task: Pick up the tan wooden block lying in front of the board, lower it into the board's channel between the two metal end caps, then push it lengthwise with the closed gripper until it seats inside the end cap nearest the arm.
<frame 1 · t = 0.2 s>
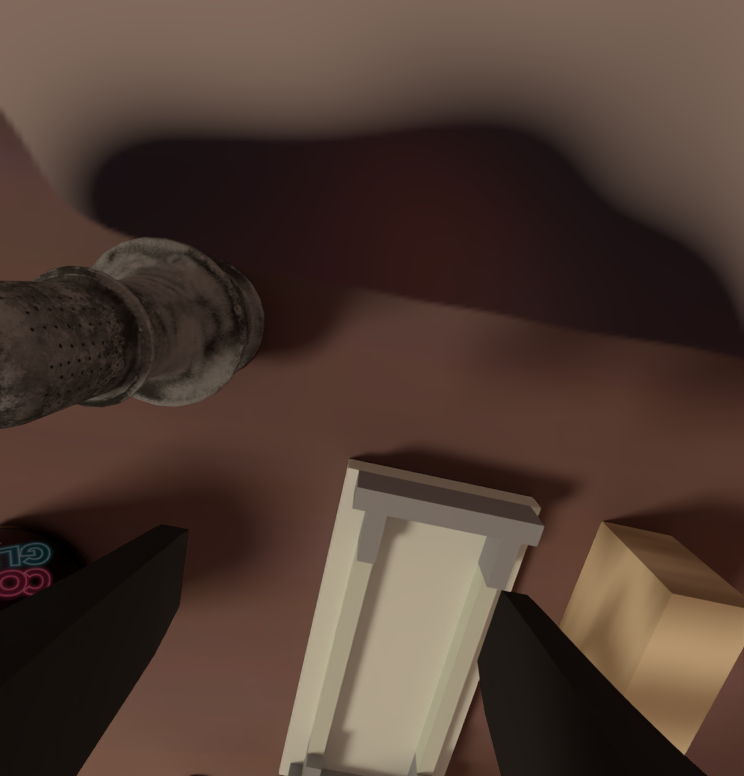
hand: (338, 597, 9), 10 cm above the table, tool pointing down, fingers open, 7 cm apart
tan wooden block: (595, 617, 21), on the table
supplement container: (37, 573, 21), on the table
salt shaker: (206, 318, 18), on the table
cream rectangular tray: (395, 638, 21), on the table
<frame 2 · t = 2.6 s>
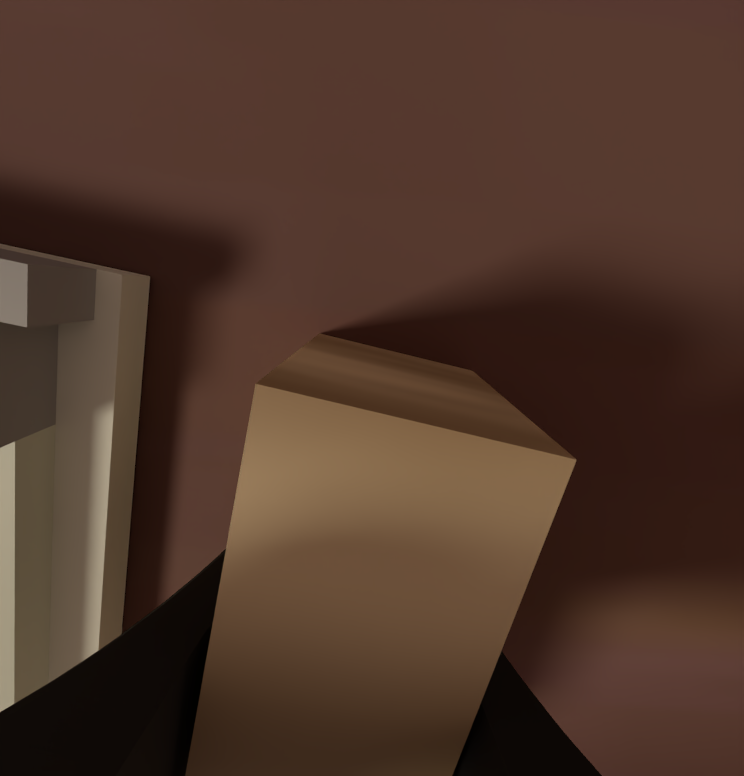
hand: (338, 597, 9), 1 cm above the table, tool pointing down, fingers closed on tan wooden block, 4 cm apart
tan wooden block: (343, 555, 11), on the table, touching gripper
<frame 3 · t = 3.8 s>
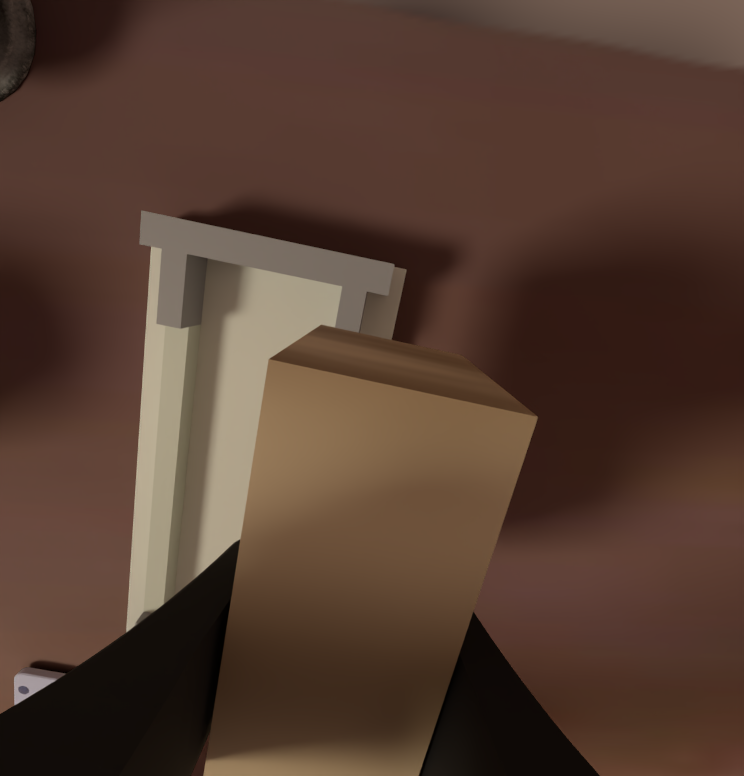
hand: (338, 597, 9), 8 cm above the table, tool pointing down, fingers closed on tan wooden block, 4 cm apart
tan wooden block: (348, 529, 11), point 6 cm above the table, touching gripper
cream rectangular tray: (254, 473, 17), on the table
when the fingers open (4 cm above the table, at t = 5.3 s): tan wooden block stays where it is, resting on cream rectangular tray.
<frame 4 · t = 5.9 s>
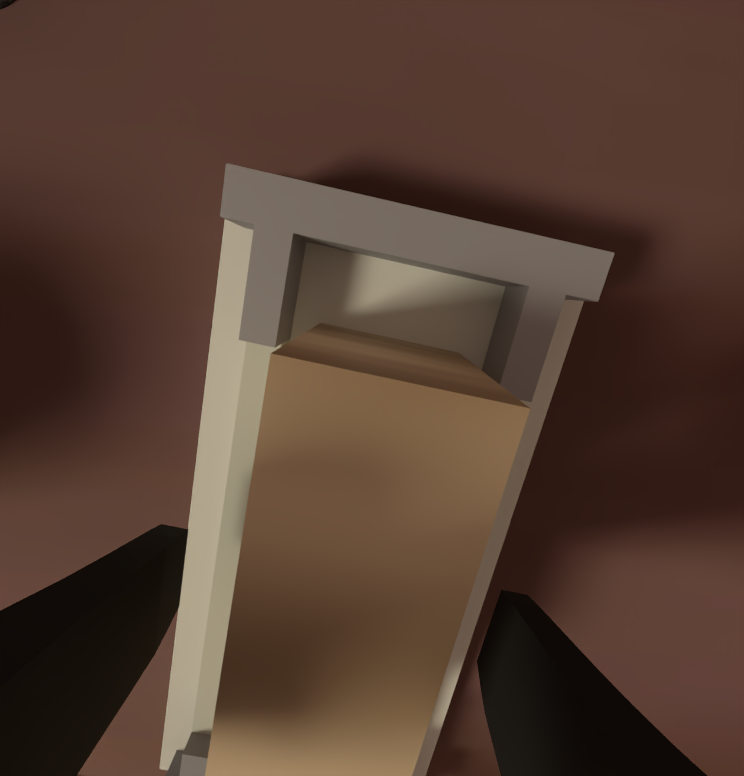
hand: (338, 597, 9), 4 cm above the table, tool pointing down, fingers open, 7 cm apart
tan wooden block: (347, 525, 12), point 1 cm above the table, touching cream rectangular tray
cream rectangular tray: (343, 539, 13), on the table
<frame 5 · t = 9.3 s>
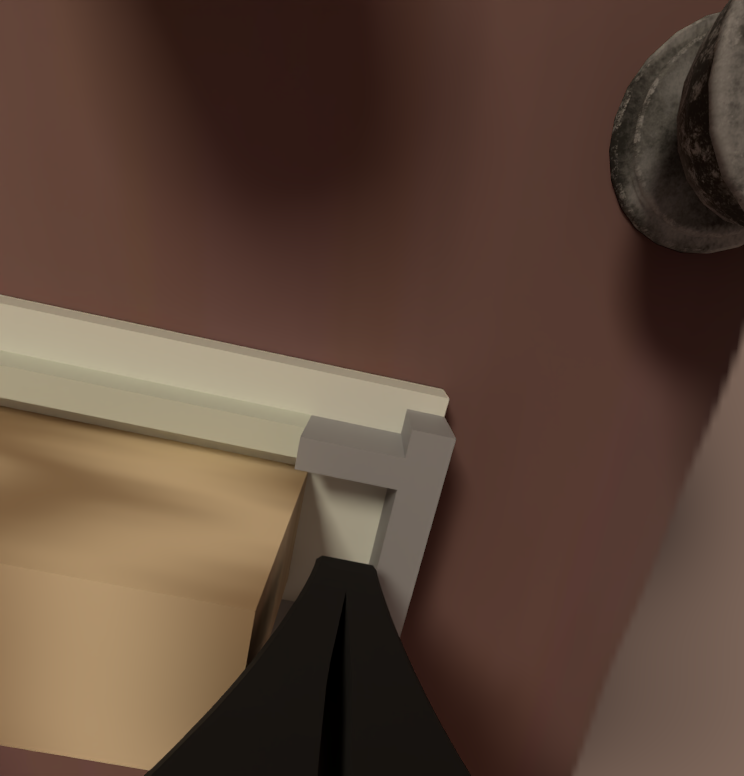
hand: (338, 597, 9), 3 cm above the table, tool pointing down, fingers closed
tan wooden block: (101, 487, 11), point 1 cm above the table, touching gripper
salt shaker: (712, 143, 10), on the table
cream rectangular tray: (96, 466, 12), on the table
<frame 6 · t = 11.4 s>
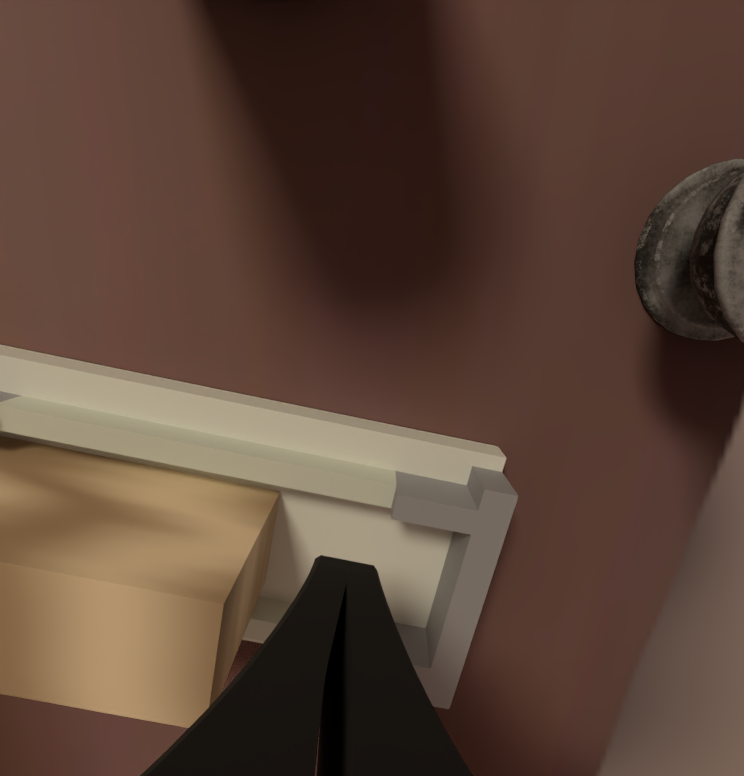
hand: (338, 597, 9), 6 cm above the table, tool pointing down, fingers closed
tan wooden block: (113, 506, 14), point 1 cm above the table, touching cream rectangular tray
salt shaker: (717, 255, 13), on the table
cream rectangular tray: (212, 507, 15), on the table
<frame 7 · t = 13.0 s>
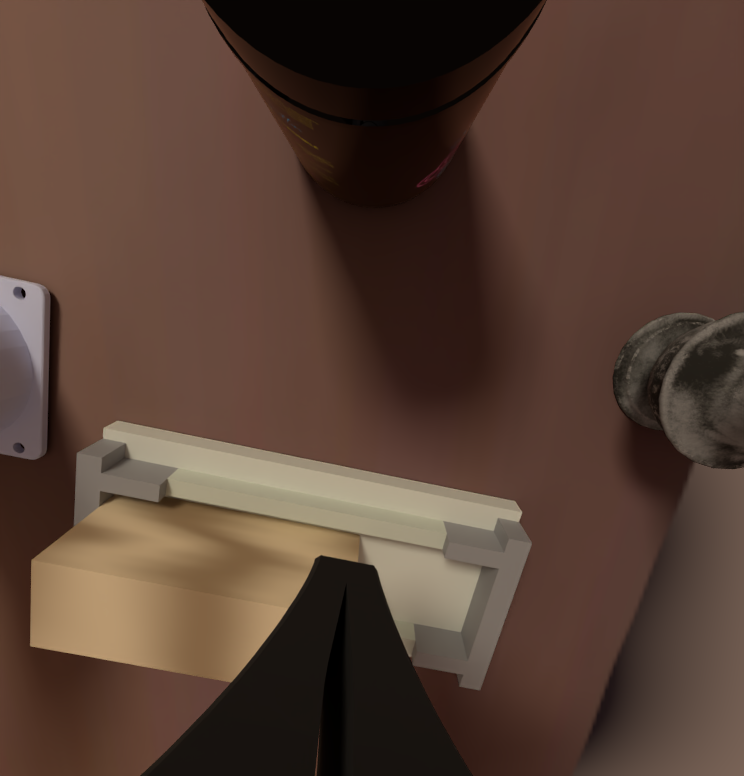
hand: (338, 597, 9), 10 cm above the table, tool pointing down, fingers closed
tan wooden block: (237, 545, 19), point 1 cm above the table, touching cream rectangular tray
supplement container: (375, 120, 16), on the table
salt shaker: (670, 372, 18), on the table
cream rectangular tray: (304, 543, 20), on the table
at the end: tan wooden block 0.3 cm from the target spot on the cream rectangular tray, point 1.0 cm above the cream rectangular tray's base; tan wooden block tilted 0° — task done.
